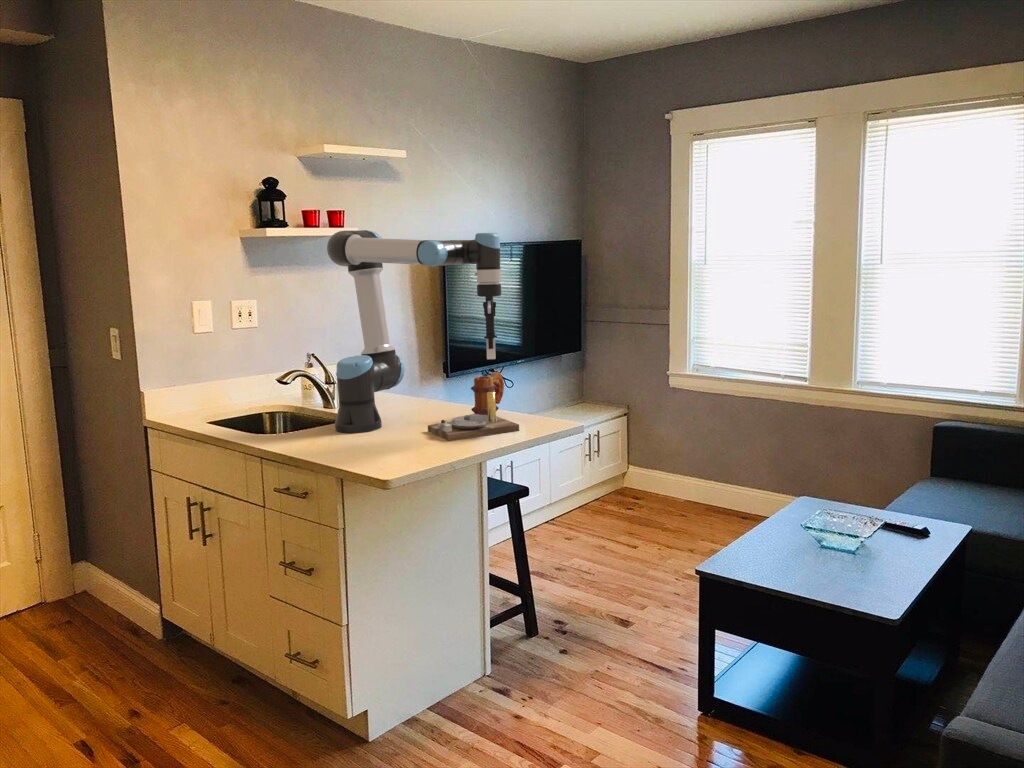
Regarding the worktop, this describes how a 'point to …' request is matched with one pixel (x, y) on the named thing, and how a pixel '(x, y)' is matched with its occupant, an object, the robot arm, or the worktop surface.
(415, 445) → the worktop surface
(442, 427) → the stand
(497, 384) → the mug
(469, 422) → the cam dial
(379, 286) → the robot arm
